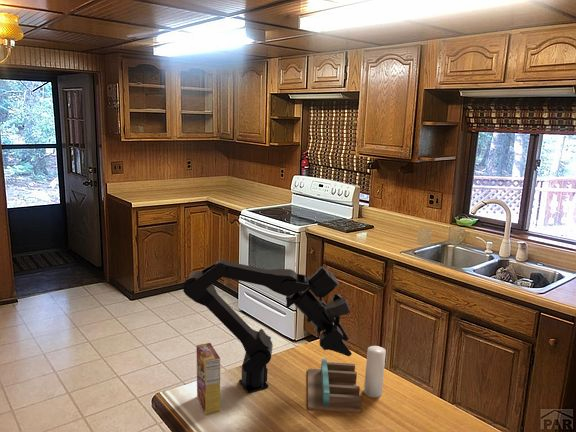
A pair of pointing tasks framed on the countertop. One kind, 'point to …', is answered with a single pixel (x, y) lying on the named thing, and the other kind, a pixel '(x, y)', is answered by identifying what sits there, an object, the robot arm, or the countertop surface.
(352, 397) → the comb rack
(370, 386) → the white cylinder
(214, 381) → the candy box
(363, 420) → the countertop surface
